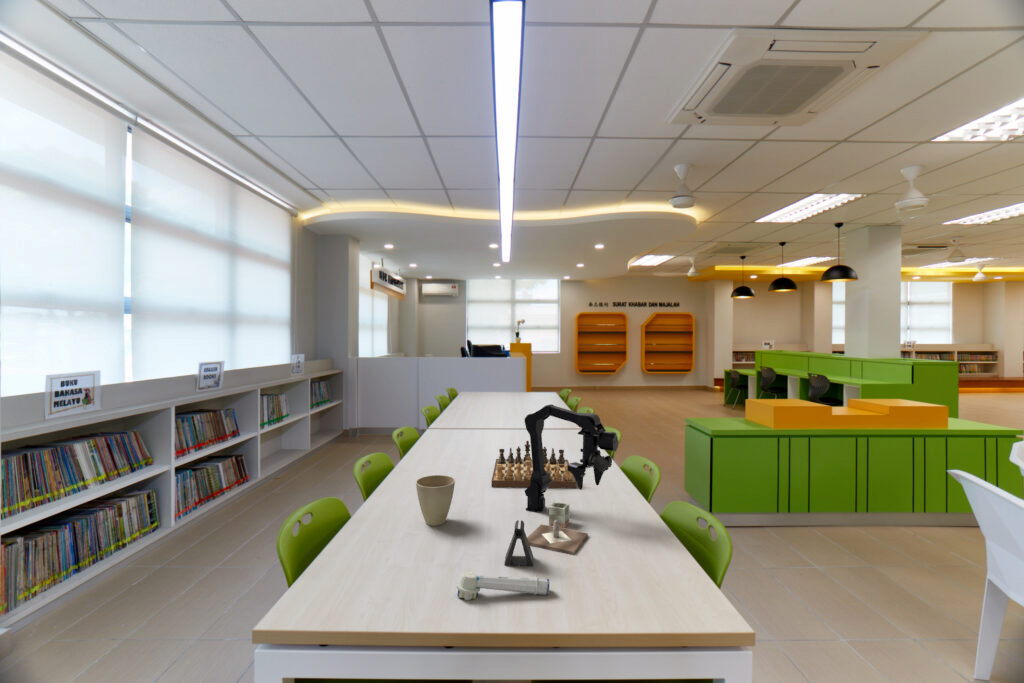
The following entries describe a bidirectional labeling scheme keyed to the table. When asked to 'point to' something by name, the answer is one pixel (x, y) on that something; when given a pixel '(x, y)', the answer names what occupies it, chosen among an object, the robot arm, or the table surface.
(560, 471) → the chess set
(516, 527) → the phone stand
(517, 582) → the toothbrush head
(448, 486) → the plant pot
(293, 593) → the table surface
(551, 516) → the sleeve
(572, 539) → the pin board
